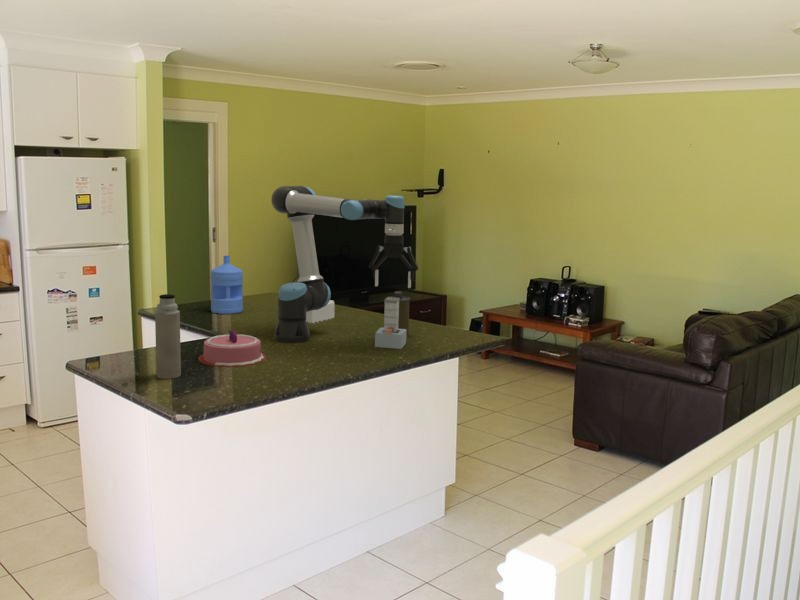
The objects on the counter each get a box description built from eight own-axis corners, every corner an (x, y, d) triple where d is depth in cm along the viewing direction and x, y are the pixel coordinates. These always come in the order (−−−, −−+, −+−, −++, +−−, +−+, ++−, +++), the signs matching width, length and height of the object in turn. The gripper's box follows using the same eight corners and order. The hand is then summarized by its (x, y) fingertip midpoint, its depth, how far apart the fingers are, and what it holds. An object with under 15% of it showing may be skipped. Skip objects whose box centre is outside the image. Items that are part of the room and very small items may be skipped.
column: (382, 346, 298) (384, 299, 295) (386, 342, 305) (387, 297, 302) (395, 347, 297) (396, 300, 294) (398, 343, 304) (399, 297, 301)
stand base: (371, 349, 296) (372, 328, 295) (378, 342, 309) (379, 322, 307) (403, 351, 294) (404, 331, 293) (408, 344, 307) (409, 324, 305)
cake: (275, 363, 272) (275, 335, 270) (208, 370, 259) (208, 341, 257) (254, 348, 293) (253, 322, 291) (191, 354, 281) (190, 327, 279)
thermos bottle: (160, 372, 254) (158, 292, 249) (183, 372, 254) (182, 293, 250) (153, 378, 246) (151, 296, 241) (177, 379, 247) (175, 297, 242)
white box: (312, 324, 343) (312, 290, 340) (282, 319, 352) (282, 286, 349) (334, 318, 358) (335, 286, 355) (305, 314, 367) (305, 282, 364)
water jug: (210, 309, 371) (209, 254, 366) (241, 308, 375) (241, 254, 371) (211, 315, 356) (211, 257, 351) (244, 314, 361) (244, 257, 356)
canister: (406, 340, 315) (407, 294, 311) (382, 338, 317) (383, 293, 313) (411, 335, 325) (412, 290, 322) (388, 333, 327) (389, 289, 324)
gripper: (361, 233, 292) (360, 286, 295) (423, 236, 288) (421, 289, 291) (365, 232, 299) (365, 283, 303) (426, 234, 295) (424, 286, 299)
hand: (392, 286), depth 297 cm, fingers open, 13 cm apart
